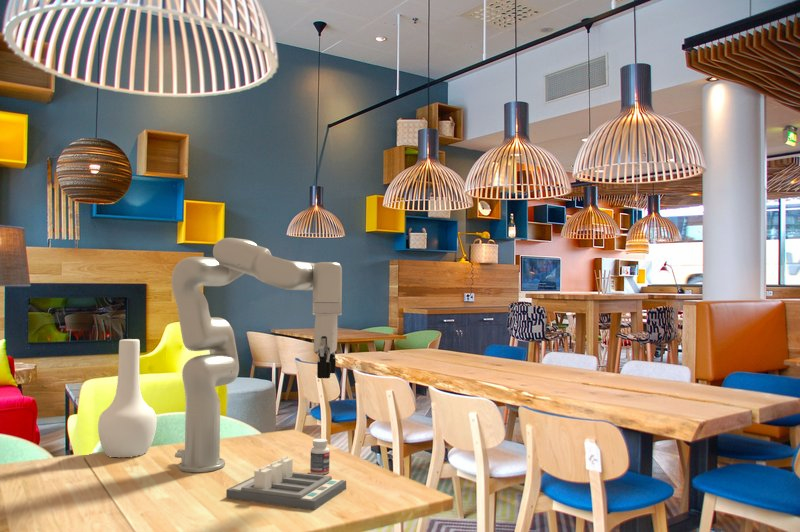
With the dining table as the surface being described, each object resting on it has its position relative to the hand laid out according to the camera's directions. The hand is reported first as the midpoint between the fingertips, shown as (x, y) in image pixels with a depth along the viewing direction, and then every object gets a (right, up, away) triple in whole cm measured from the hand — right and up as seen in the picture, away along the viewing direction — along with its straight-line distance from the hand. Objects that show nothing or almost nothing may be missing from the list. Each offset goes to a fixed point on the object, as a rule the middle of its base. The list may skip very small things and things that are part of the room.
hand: (326, 375), depth 164 cm
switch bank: (-9, -28, -7) cm, 30 cm away
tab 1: (-14, -26, -10) cm, 31 cm away
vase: (-65, -30, +31) cm, 78 cm away
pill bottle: (-3, -29, +11) cm, 31 cm away
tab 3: (-11, -26, -1) cm, 28 cm away
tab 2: (-13, -26, -6) cm, 29 cm away
